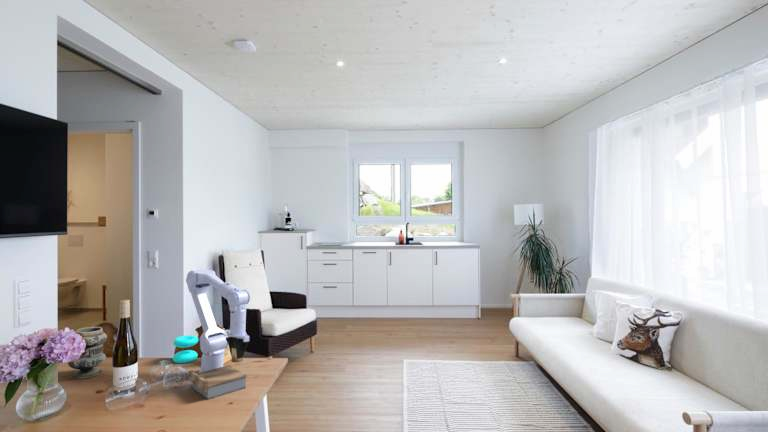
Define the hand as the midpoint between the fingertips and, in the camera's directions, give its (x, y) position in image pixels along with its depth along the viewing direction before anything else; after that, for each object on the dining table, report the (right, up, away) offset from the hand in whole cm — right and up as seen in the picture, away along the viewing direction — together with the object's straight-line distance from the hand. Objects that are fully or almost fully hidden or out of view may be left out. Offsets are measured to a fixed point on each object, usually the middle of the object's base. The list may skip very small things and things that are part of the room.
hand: (236, 356), depth 149 cm
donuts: (-32, -10, +22) cm, 40 cm away
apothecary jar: (-62, -8, +3) cm, 62 cm away
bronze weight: (0, -2, 0) cm, 2 cm away
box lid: (-5, -7, -6) cm, 10 cm away
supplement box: (-14, -10, +22) cm, 28 cm away
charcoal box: (-5, -10, -6) cm, 12 cm away
